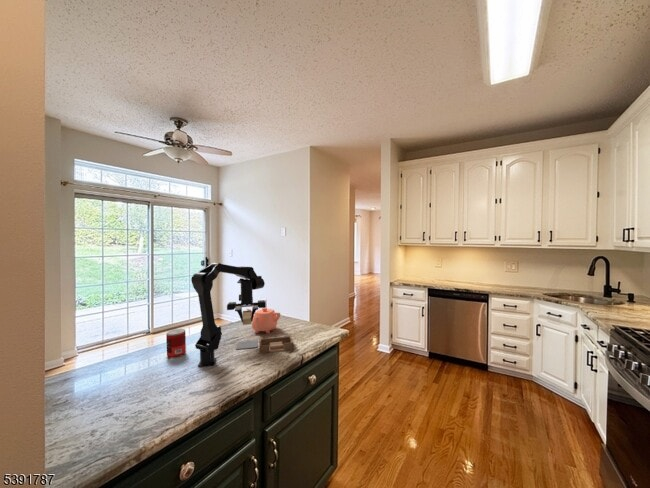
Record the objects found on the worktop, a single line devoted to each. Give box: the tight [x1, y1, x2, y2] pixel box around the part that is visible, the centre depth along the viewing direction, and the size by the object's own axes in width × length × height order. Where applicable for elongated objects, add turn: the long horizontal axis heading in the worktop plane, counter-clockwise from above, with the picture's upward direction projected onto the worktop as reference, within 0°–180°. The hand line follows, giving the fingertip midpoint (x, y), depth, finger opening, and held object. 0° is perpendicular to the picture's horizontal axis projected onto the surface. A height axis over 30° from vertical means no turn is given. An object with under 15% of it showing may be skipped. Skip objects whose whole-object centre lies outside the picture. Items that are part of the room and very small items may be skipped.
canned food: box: [165, 328, 187, 359], centre depth 128 cm, size 8×8×11 cm
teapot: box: [245, 307, 281, 334], centre depth 161 cm, size 16×17×14 cm
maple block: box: [242, 309, 252, 326], centre depth 138 cm, size 4×4×6 cm
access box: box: [258, 335, 295, 355], centre depth 134 cm, size 10×16×4 cm, turn 104°
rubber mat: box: [235, 339, 259, 351], centre depth 138 cm, size 10×10×1 cm
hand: (247, 321), depth 138 cm, fingers closed on maple block, 4 cm apart
